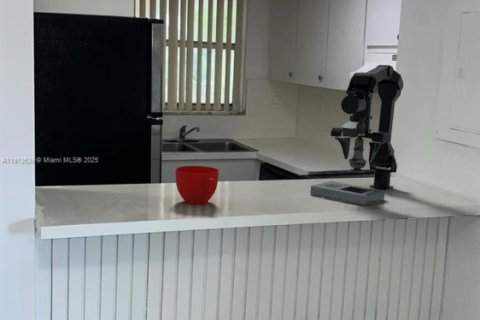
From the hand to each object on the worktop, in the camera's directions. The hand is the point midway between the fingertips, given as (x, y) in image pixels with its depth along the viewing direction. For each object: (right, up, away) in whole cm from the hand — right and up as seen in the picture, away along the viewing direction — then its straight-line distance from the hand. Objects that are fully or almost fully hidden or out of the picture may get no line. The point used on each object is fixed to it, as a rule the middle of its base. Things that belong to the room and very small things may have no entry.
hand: (357, 161), depth 193 cm
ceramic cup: (-50, -13, -14) cm, 54 cm away
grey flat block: (-3, -12, +4) cm, 13 cm away
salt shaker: (0, -4, +1) cm, 4 cm away
